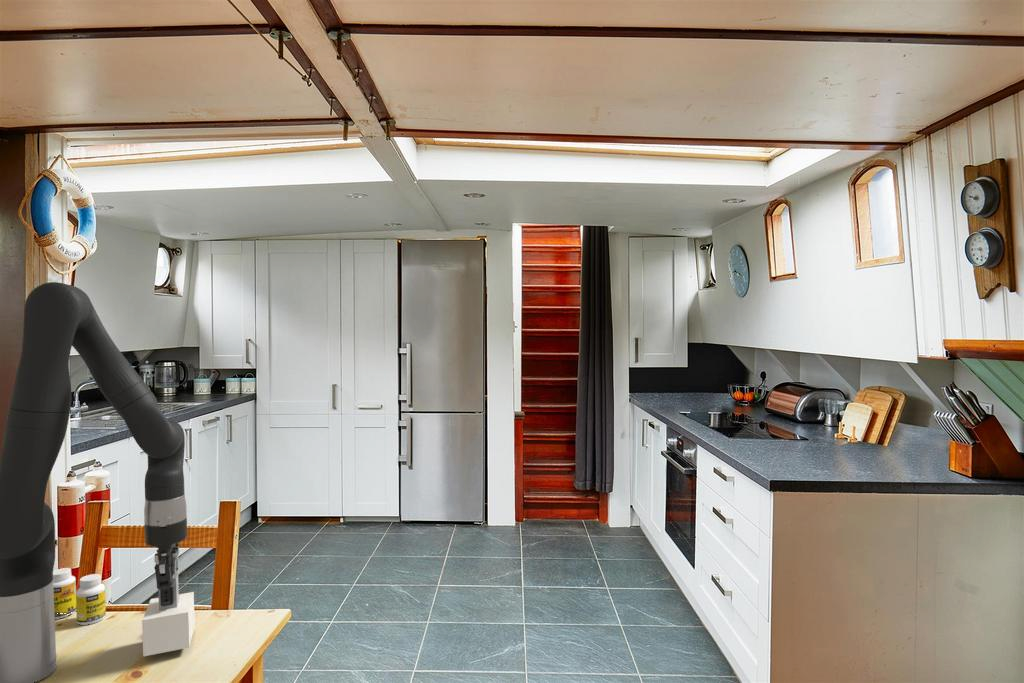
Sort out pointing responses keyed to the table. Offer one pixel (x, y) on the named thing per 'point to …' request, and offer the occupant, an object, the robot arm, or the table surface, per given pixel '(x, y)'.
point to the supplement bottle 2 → (90, 600)
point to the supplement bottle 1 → (64, 592)
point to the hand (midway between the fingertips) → (168, 600)
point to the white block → (168, 623)
